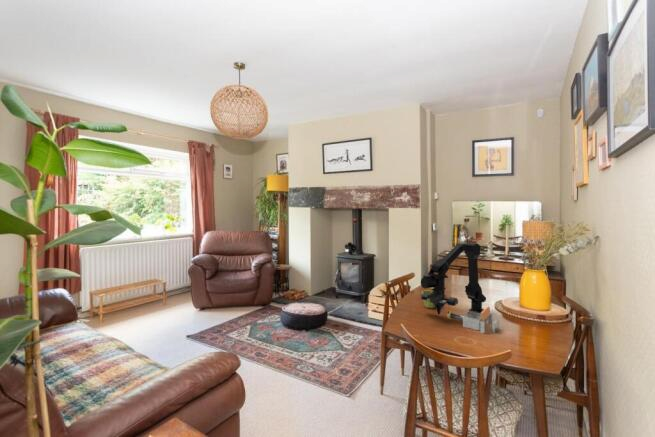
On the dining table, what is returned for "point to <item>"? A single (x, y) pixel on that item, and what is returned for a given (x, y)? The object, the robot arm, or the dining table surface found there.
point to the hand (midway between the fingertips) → (439, 314)
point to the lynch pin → (454, 316)
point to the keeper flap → (485, 314)
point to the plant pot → (428, 300)
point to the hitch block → (478, 322)
